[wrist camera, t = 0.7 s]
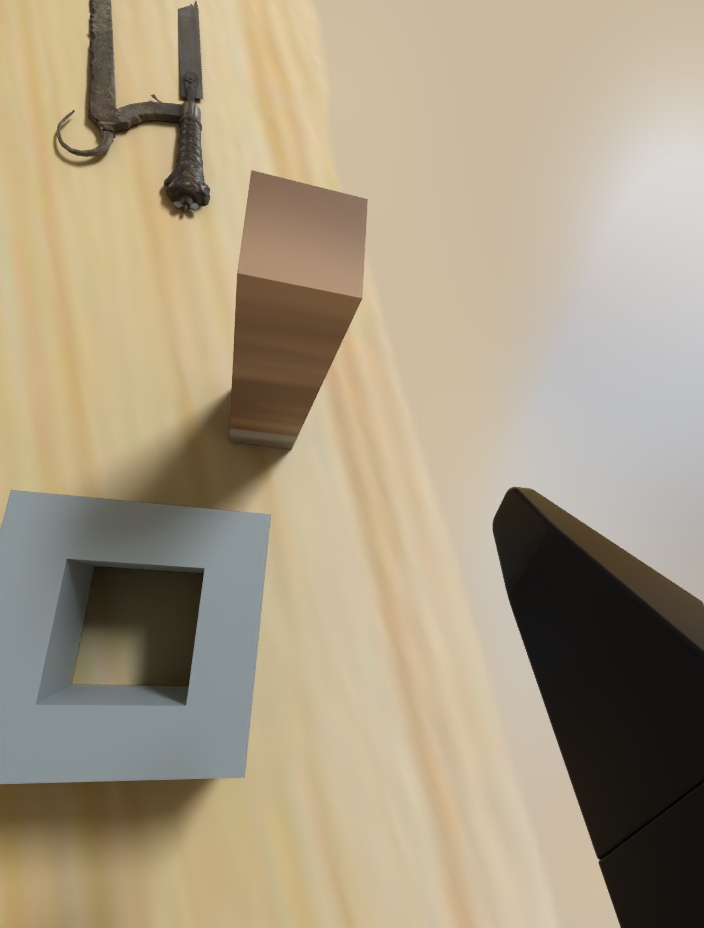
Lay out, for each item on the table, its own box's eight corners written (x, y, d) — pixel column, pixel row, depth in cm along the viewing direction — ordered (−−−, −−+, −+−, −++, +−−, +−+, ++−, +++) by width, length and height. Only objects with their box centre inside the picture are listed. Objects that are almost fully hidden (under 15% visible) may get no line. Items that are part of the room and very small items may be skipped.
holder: (240, 744, 20) (244, 777, 16) (-6, 747, 18) (-65, 785, 14) (262, 528, 23) (270, 514, 19) (48, 509, 21) (10, 490, 17)
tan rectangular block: (291, 449, 24) (362, 298, 12) (229, 441, 23) (236, 272, 11) (296, 393, 25) (367, 199, 13) (236, 384, 24) (251, 170, 12)
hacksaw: (211, 223, 27) (210, 203, 25) (-7, 205, 24) (-21, 180, 23) (196, -83, 33) (195, -113, 31) (20, -126, 30) (10, -161, 28)
